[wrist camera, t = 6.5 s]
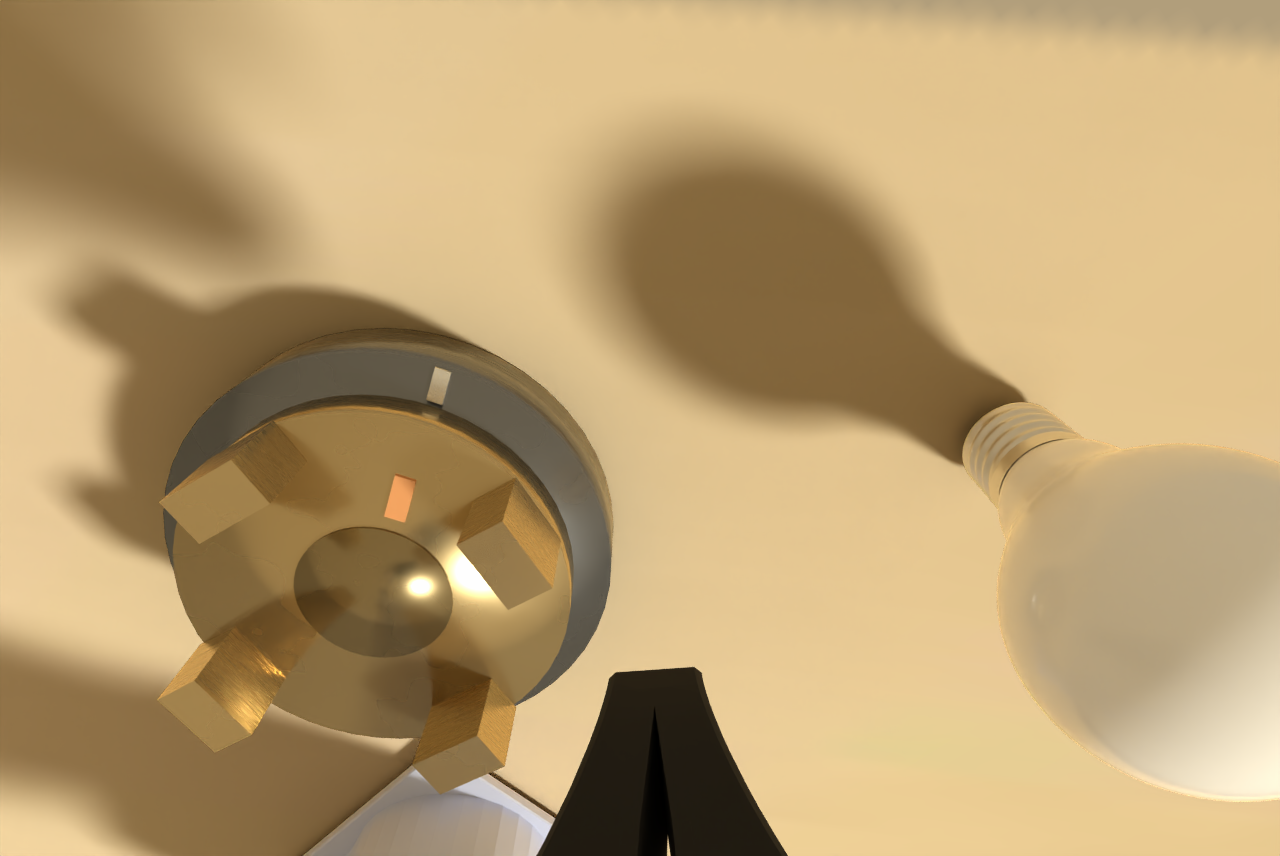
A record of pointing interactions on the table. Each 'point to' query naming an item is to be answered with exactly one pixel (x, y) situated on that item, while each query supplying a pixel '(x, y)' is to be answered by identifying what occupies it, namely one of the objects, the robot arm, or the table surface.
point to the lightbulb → (1141, 598)
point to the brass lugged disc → (369, 581)
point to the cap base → (456, 386)
